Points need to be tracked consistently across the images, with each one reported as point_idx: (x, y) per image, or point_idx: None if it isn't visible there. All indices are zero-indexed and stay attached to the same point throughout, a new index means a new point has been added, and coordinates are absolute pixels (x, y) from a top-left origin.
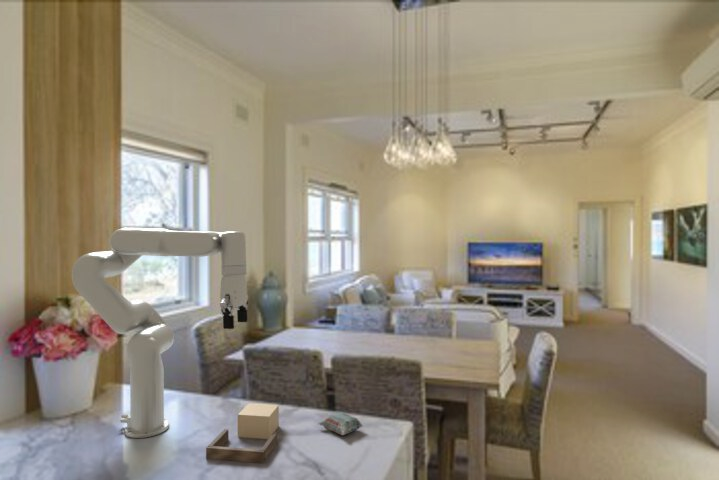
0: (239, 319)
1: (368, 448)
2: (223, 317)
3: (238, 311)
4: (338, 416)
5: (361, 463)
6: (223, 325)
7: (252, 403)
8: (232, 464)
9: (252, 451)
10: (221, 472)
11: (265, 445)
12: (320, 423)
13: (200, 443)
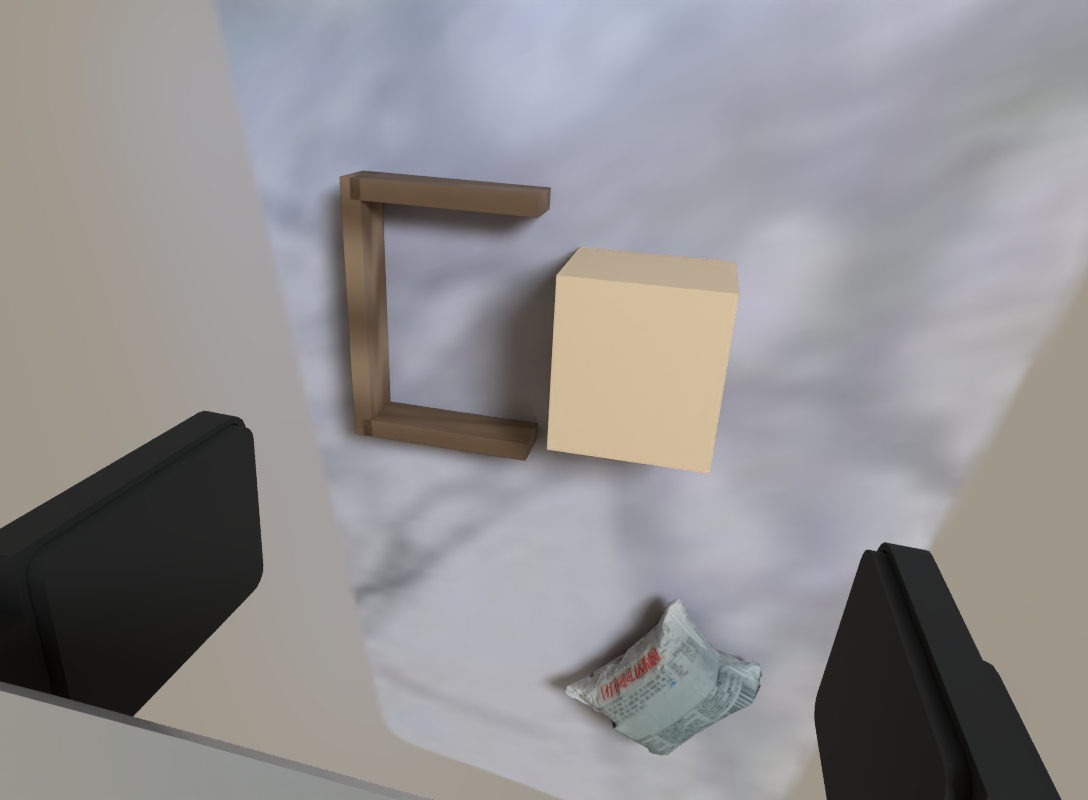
0: (864, 619)
1: (527, 729)
2: (18, 531)
3: (926, 784)
4: (654, 704)
5: (430, 699)
6: (172, 433)
7: (732, 319)
8: (344, 301)
9: (353, 390)
10: (285, 277)
11: (407, 431)
12: (663, 614)
13: (493, 72)
